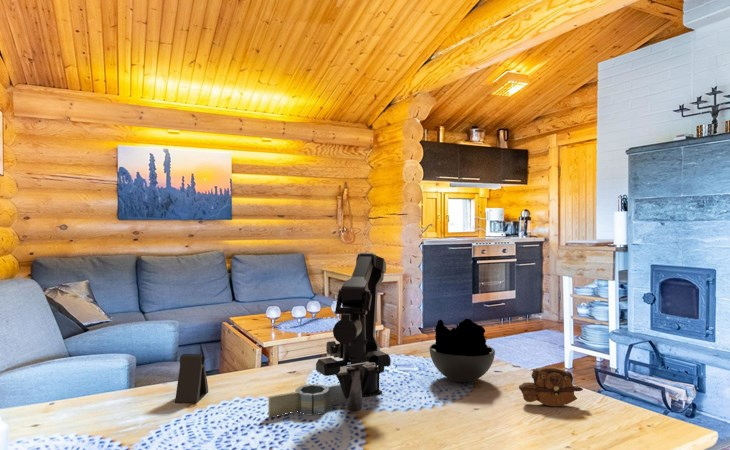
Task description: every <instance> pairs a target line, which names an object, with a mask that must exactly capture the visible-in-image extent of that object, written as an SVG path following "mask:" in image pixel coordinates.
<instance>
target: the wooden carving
mask: <svg viewBox="0 0 730 450" xmlns="http://www.w3.org/2000/svg"><path fill="white" fill-rule="evenodd" d="M530 376H531V378H532V379H533V382H529V381H528V382H527V381H526V382H523V383H521V384H519V385H518V389H519V391H521V393H522V396H523V400H524V402H527V403H533V402H536V401H537V402H538V403H541V404H542V405H545V406H549V407H561V406H566V405H570V403H572V402H574V401H576V400H578V397H577V396H576V395H575V392H581V391H583V389H584V388H582V387H580V386H578V385H573V381H574V376H573V374H572V372H570V370H567V371H565V370H563V369H561V368H557V367H554V366H544V367H541V368H539V369H536V368H534V369H533V370H532V372H531V375H530Z"/></svg>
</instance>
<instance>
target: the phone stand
mask: <svg viewBox="0 0 730 450" xmlns="http://www.w3.org/2000/svg"><path fill="white" fill-rule="evenodd" d="M205 360H206V355H205V354H201V353H199V354H197V353H195V354H194V353H183V354H180V357H179V370H178V377H177V384H176V385H177V386H176V391H175V399H174V403H175V404H198V403H199V402H200V401H201V400H202V399H203V398H204V397H205V396H206V395H207V394H208V393H209V386H208V385H209V384H208V378H207V371H206V363H205V362H206V361H205Z"/></svg>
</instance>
